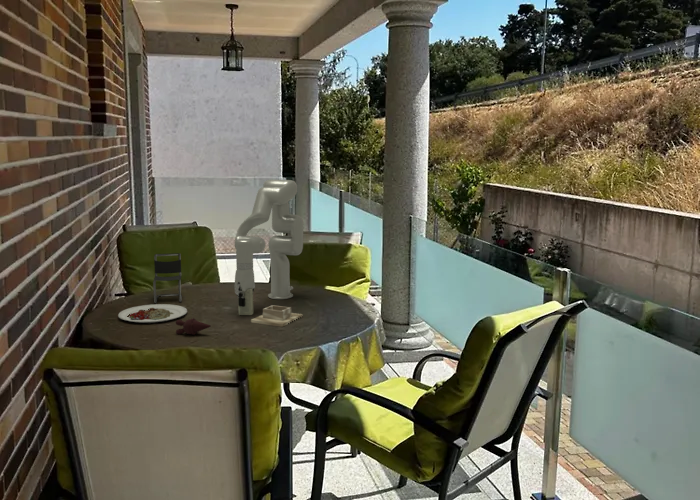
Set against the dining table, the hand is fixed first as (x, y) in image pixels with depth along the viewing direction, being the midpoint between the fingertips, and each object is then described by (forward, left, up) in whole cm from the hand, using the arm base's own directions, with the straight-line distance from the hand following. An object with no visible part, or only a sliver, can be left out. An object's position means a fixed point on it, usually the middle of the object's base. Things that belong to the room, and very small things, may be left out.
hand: (245, 304), depth 302 cm
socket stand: (+2, +18, -4) cm, 19 cm away
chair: (-6, -50, -5) cm, 51 cm away
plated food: (+21, -36, -5) cm, 42 cm away
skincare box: (0, 0, -5) cm, 5 cm away
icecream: (+36, -2, -5) cm, 37 cm away
